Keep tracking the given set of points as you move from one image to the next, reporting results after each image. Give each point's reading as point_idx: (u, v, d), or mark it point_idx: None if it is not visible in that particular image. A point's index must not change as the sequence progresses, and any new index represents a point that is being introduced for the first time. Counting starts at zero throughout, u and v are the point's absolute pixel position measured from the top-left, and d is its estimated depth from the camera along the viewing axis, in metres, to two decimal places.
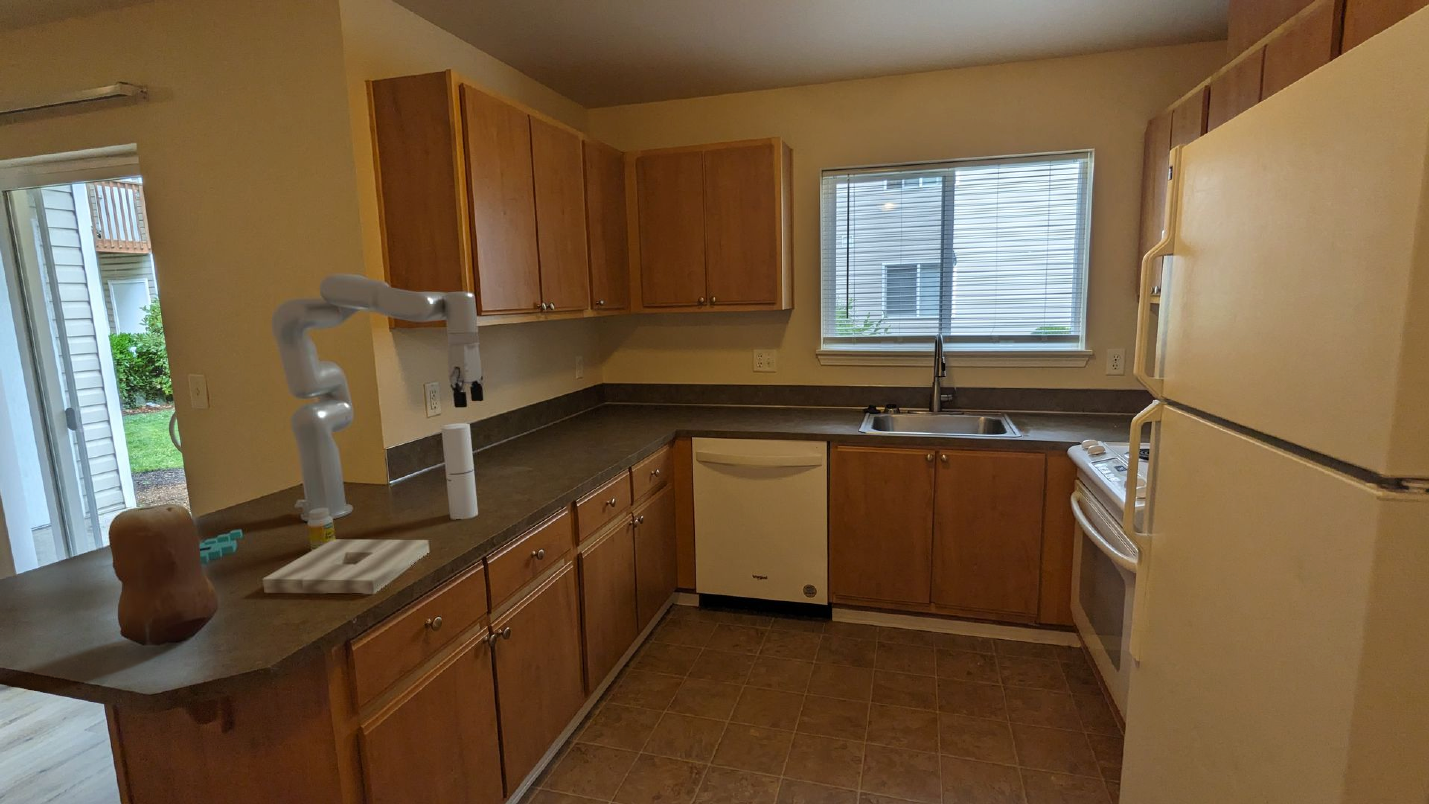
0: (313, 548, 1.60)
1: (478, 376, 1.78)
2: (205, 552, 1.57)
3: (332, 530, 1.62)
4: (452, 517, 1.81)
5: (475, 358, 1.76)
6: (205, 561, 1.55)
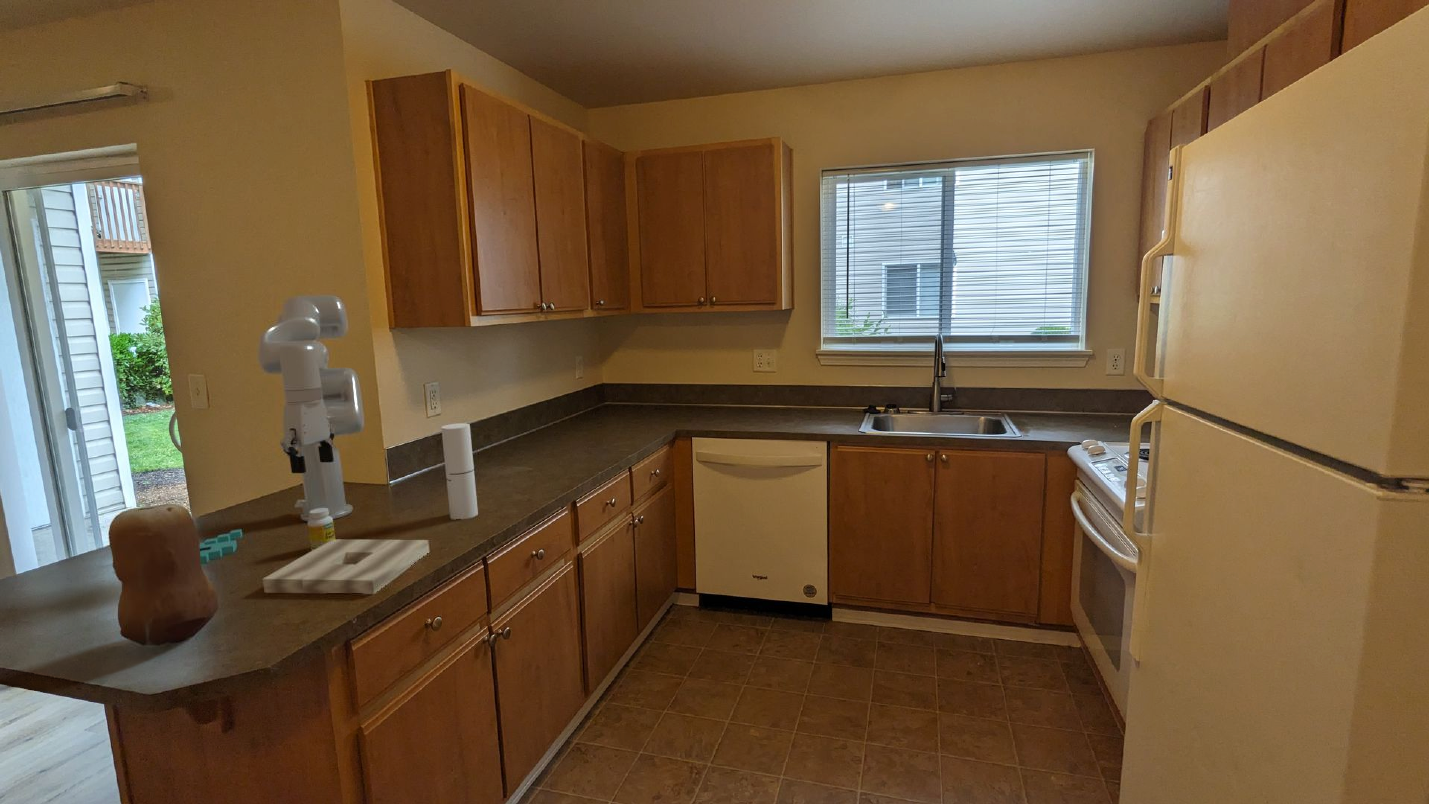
0: (313, 548, 1.60)
1: (324, 436, 1.60)
2: (205, 552, 1.57)
3: (332, 530, 1.62)
4: (452, 517, 1.81)
5: (318, 417, 1.57)
6: (205, 561, 1.55)
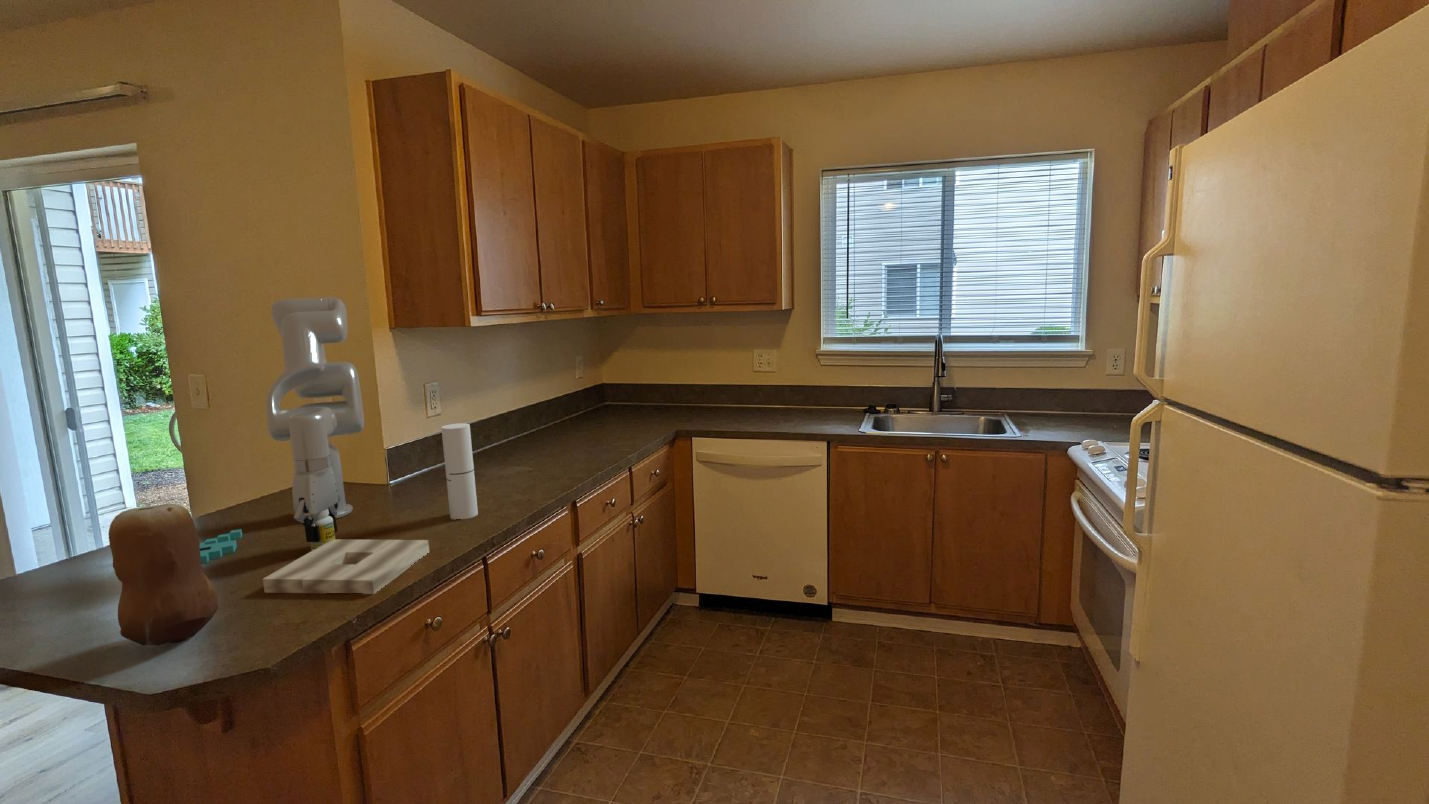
0: (313, 548, 1.60)
1: (332, 501, 1.63)
2: (205, 551, 1.57)
3: (332, 530, 1.62)
4: (452, 517, 1.81)
5: (326, 484, 1.60)
6: (205, 561, 1.55)
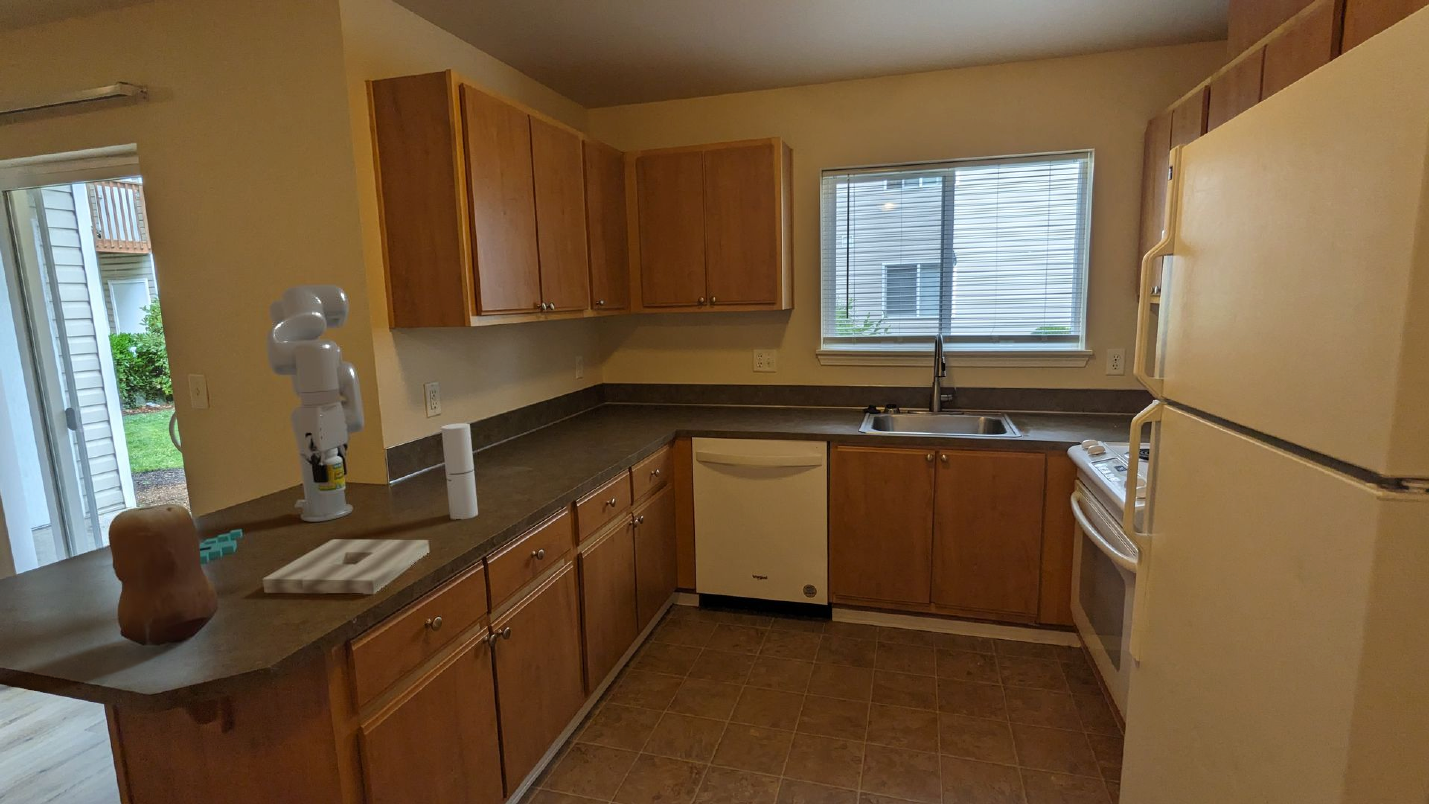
0: (321, 490, 1.47)
1: (342, 440, 1.50)
2: (206, 551, 1.57)
3: (341, 471, 1.49)
4: (452, 517, 1.81)
5: (335, 420, 1.48)
6: (205, 561, 1.55)
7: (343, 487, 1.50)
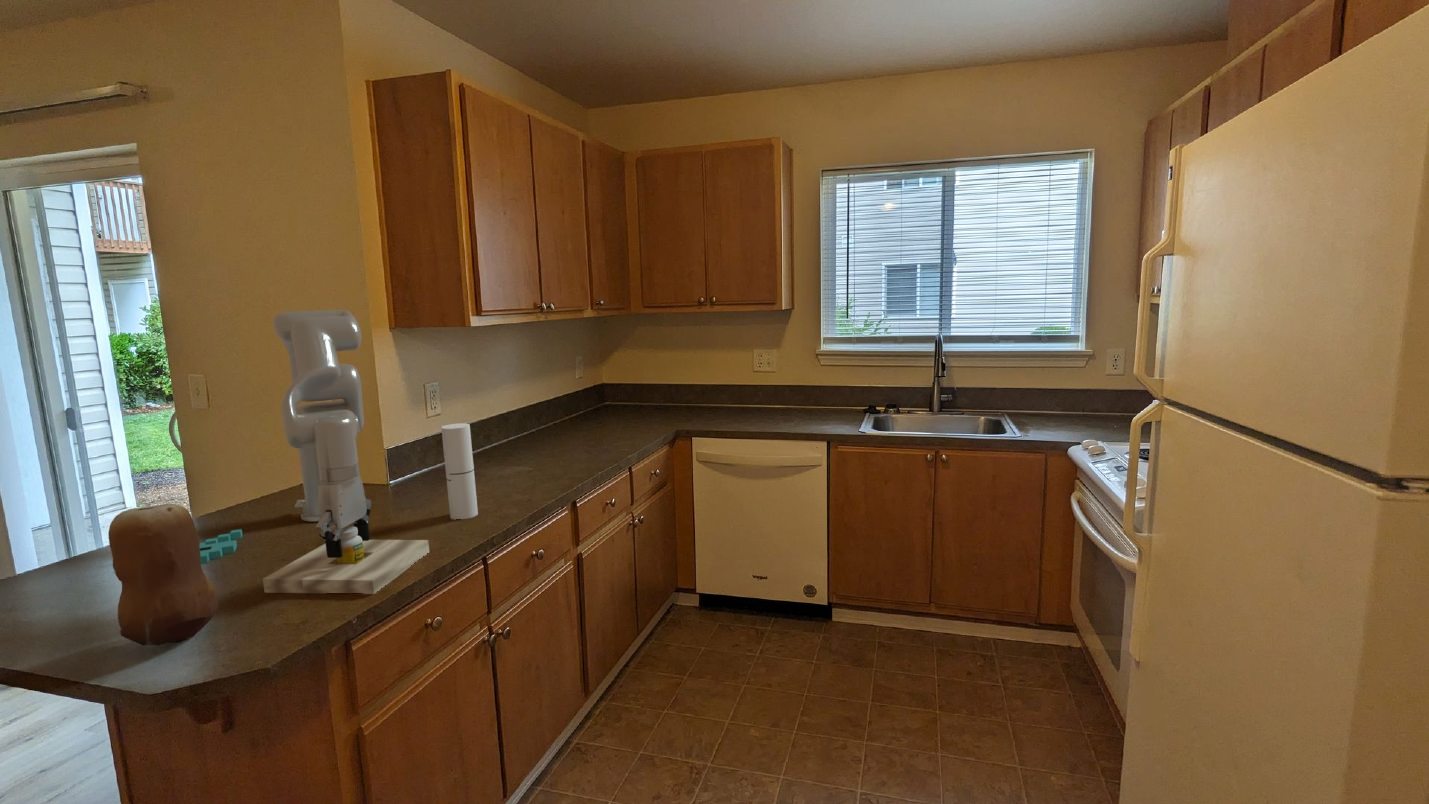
0: None
1: (361, 514, 1.48)
2: (206, 551, 1.57)
3: (361, 551, 1.48)
4: (452, 517, 1.81)
5: (355, 494, 1.46)
6: (205, 561, 1.55)
7: None
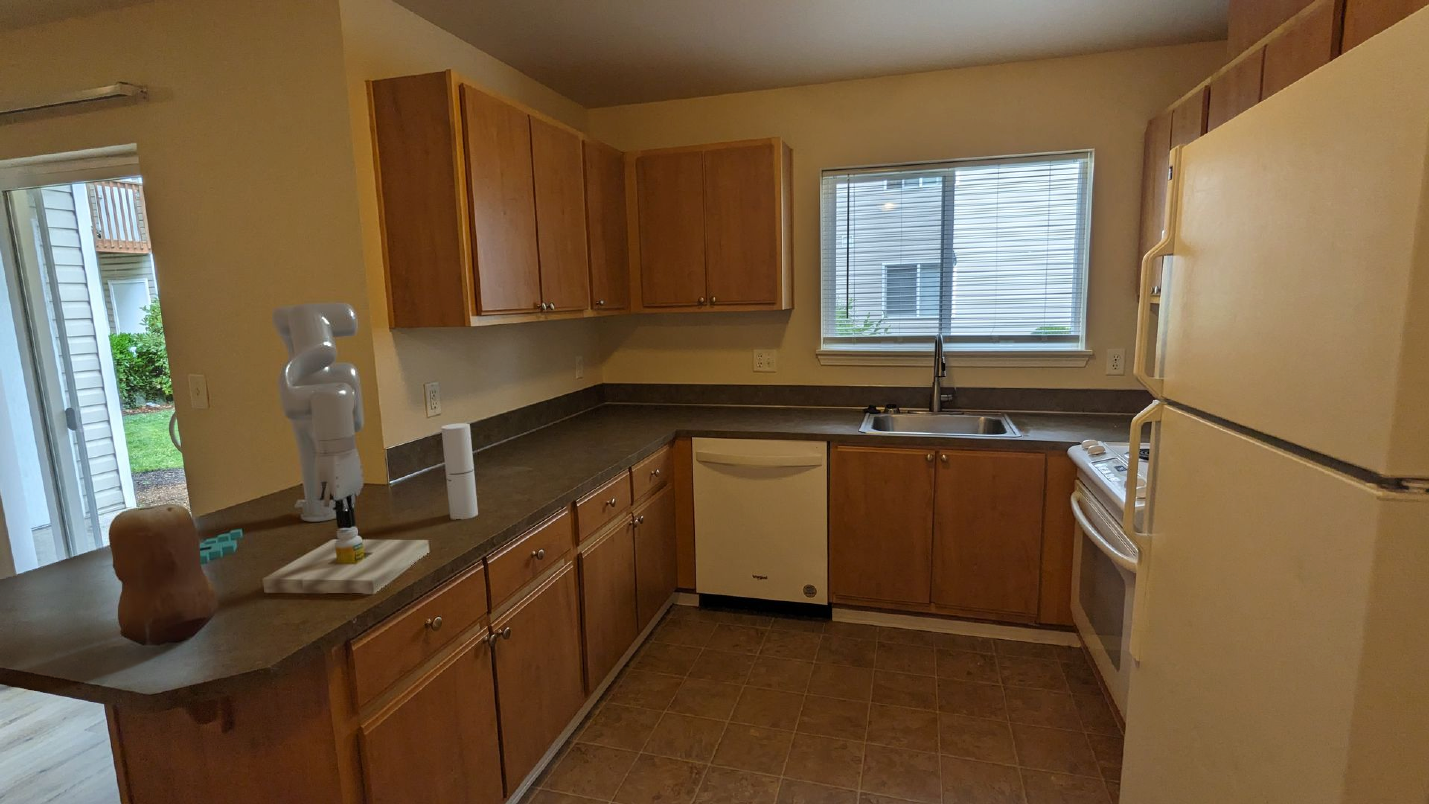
0: None
1: (358, 487, 1.47)
2: (206, 551, 1.57)
3: (361, 551, 1.48)
4: (452, 517, 1.81)
5: (351, 467, 1.44)
6: (206, 561, 1.55)
7: None
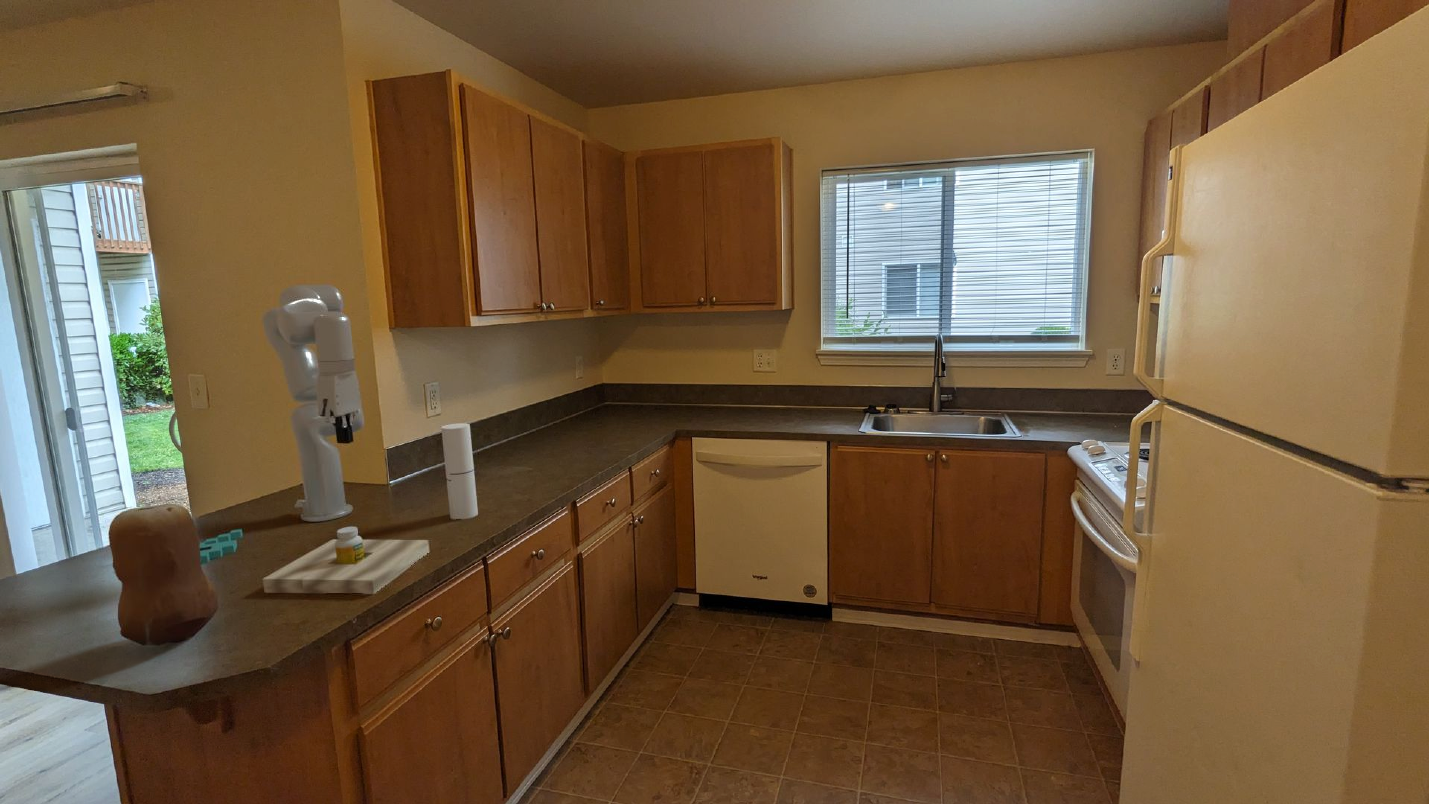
0: None
1: (356, 407, 1.61)
2: (206, 551, 1.58)
3: (361, 551, 1.48)
4: (452, 517, 1.81)
5: (350, 388, 1.59)
6: (206, 561, 1.55)
7: None
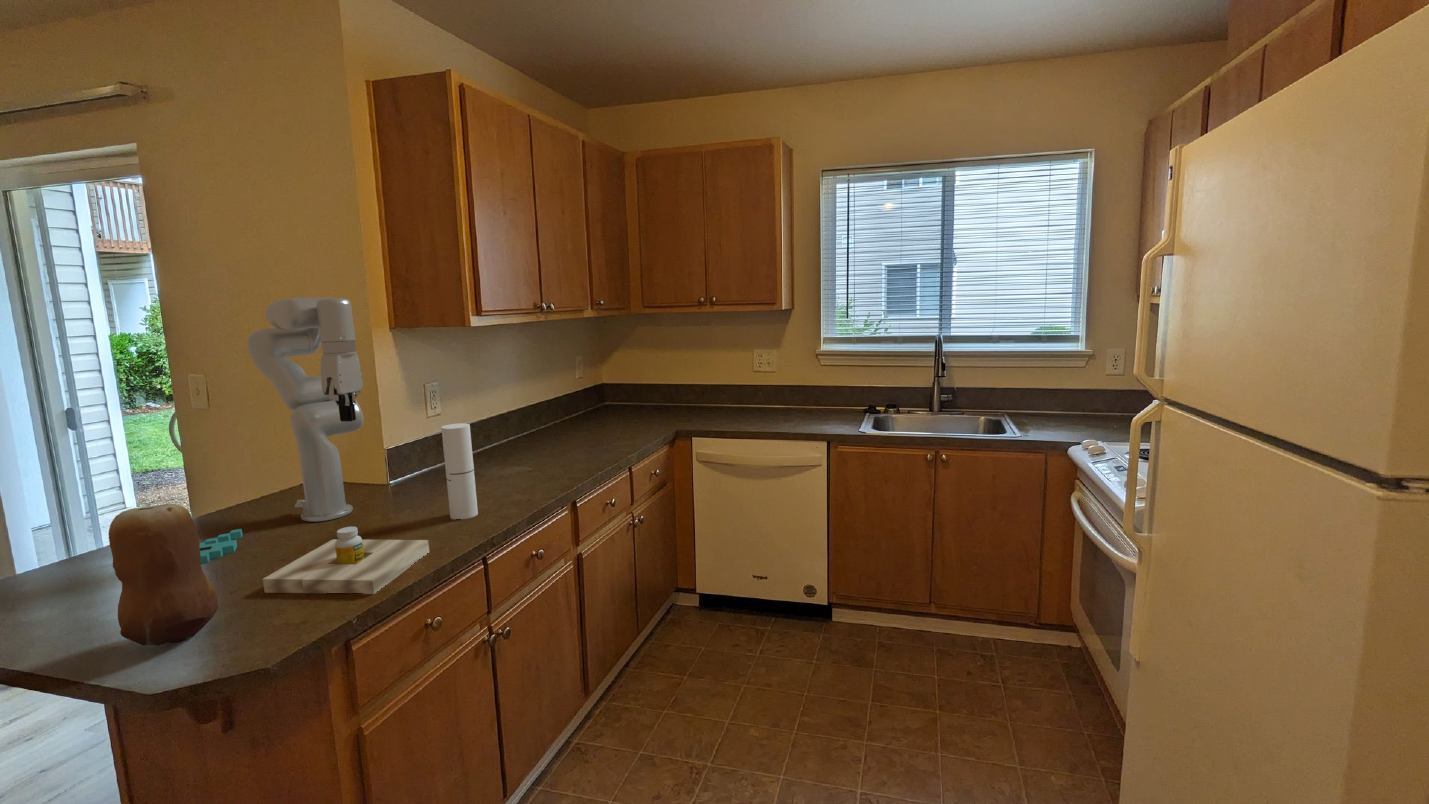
0: None
1: (358, 386, 1.70)
2: (206, 551, 1.58)
3: (361, 551, 1.48)
4: (452, 517, 1.81)
5: (352, 368, 1.67)
6: (206, 561, 1.55)
7: None
